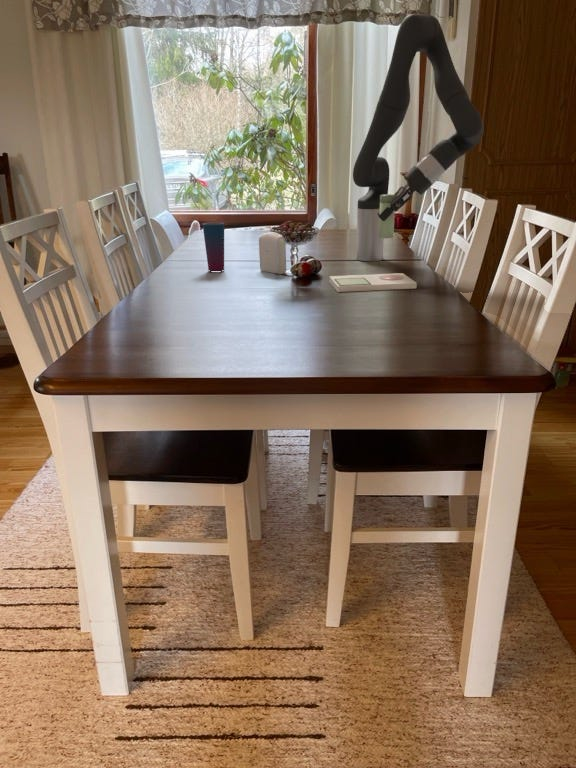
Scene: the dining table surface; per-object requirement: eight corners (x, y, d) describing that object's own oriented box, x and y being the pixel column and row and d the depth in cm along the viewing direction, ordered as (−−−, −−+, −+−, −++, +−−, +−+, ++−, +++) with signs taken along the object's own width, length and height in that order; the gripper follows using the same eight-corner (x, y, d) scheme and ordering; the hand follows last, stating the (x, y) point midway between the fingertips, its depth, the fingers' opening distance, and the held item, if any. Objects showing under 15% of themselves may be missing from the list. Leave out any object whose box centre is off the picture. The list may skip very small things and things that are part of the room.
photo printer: (258, 270, 195) (256, 231, 191) (268, 268, 198) (267, 230, 193) (277, 275, 188) (276, 234, 183) (288, 273, 190) (287, 233, 186)
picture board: (329, 281, 178) (329, 275, 177) (402, 278, 180) (402, 272, 179) (337, 291, 165) (337, 285, 164) (416, 288, 167) (416, 282, 166)
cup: (202, 272, 194) (198, 224, 189) (212, 268, 200) (209, 222, 195) (220, 273, 192) (217, 225, 186) (230, 269, 198) (228, 222, 192)
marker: (376, 236, 182) (378, 194, 177) (391, 235, 182) (393, 194, 178) (380, 238, 178) (382, 195, 173) (395, 238, 178) (397, 195, 174)
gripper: (412, 163, 178) (369, 206, 184) (419, 165, 165) (372, 211, 171) (429, 182, 180) (386, 223, 185) (437, 185, 167) (390, 230, 172)
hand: (380, 217), depth 178 cm, fingers closed on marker, 4 cm apart
